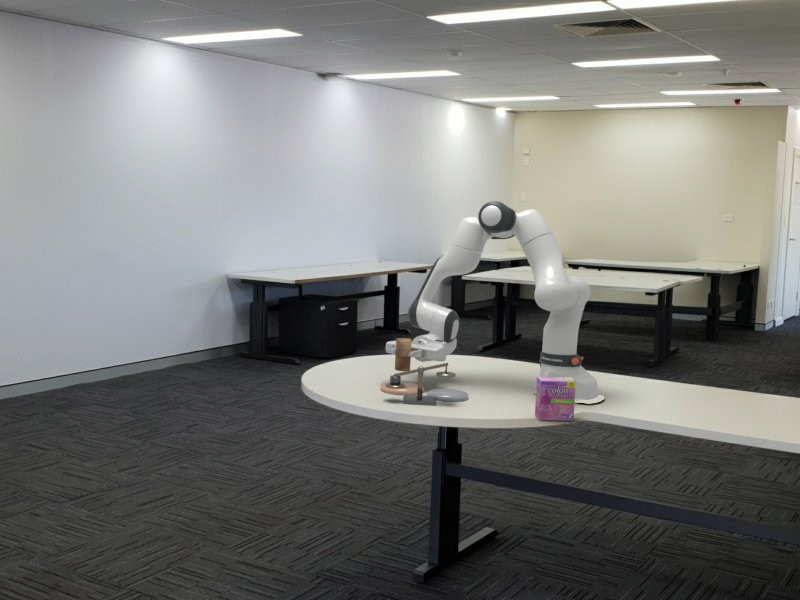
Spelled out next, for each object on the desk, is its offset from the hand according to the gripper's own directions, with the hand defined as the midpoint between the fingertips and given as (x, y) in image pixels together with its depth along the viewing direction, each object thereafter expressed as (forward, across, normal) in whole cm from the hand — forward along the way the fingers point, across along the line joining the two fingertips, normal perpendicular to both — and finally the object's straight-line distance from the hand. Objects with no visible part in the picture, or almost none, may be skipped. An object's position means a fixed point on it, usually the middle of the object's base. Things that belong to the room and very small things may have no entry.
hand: (401, 353), depth 271 cm
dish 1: (-1, 0, +12) cm, 12 cm away
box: (-1, +53, +12) cm, 55 cm away
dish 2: (-3, +16, +12) cm, 21 cm away
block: (-1, 0, +6) cm, 6 cm away
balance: (+9, +13, +12) cm, 20 cm away
